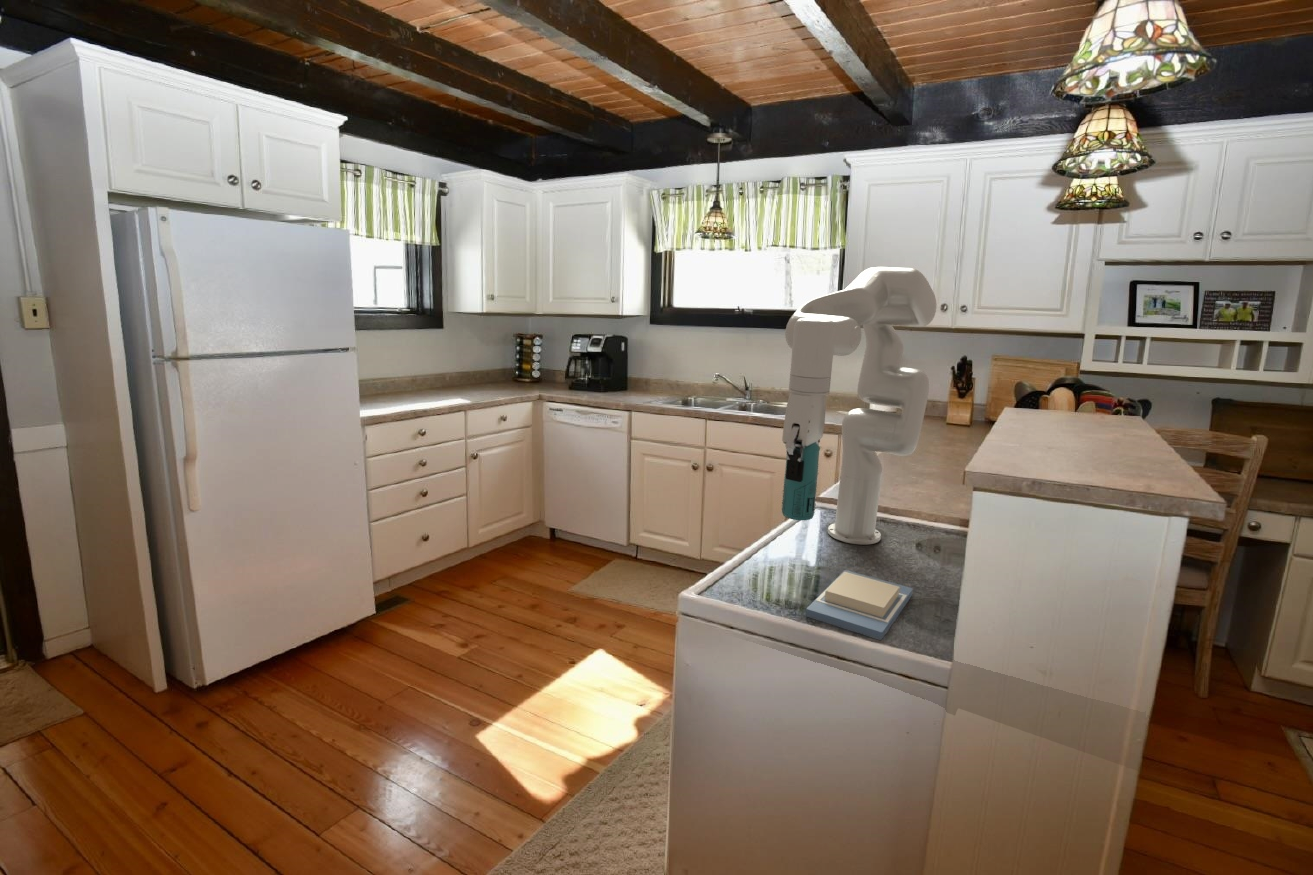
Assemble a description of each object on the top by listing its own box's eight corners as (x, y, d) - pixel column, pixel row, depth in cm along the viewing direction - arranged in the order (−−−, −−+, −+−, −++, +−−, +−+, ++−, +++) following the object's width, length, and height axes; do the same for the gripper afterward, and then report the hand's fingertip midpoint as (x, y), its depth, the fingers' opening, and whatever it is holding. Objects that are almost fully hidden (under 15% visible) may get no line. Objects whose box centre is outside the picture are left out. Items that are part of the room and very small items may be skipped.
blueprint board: (844, 576, 147) (846, 560, 146) (912, 595, 139) (914, 579, 139) (805, 616, 129) (807, 598, 128) (881, 640, 121) (883, 621, 121)
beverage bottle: (807, 530, 132) (816, 429, 127) (774, 522, 136) (783, 423, 131) (818, 520, 138) (828, 423, 133) (787, 513, 141) (795, 417, 136)
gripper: (807, 377, 139) (799, 462, 144) (772, 388, 125) (764, 482, 129) (844, 381, 135) (834, 469, 140) (811, 393, 121) (802, 491, 125)
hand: (801, 475), depth 134 cm, fingers closed on beverage bottle, 6 cm apart
